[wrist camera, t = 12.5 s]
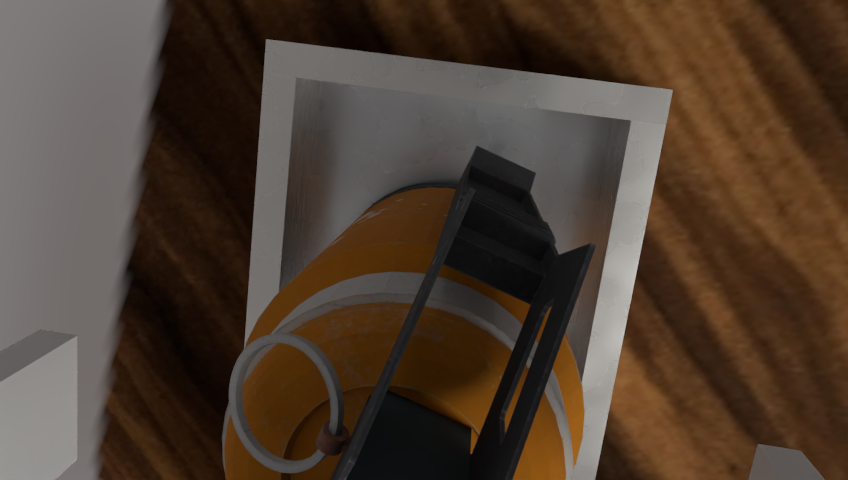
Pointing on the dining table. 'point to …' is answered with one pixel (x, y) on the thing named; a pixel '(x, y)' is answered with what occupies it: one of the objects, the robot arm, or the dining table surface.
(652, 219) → the dining table surface
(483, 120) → the grey holder tray
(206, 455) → the dining table surface
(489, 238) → the canister
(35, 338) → the robot arm
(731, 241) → the dining table surface
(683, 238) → the dining table surface
